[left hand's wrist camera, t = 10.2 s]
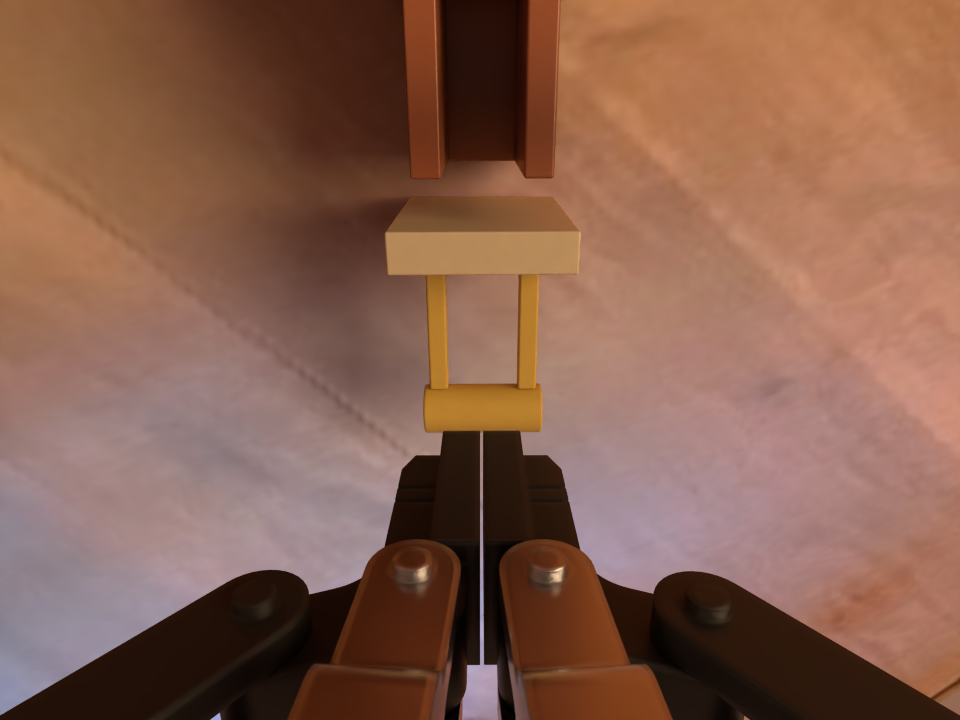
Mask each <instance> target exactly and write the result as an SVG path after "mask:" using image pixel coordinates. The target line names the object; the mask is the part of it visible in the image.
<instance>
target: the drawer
mask: <svg viewBox="0 0 960 720" xmlns="http://www.w3.org/2000/svg"><path fill="white" fill-rule="evenodd" d="M560 7H561V0H403V22H404V44H405V66H406V88H407V110H408V133H409V155H410V177H411V179H440V178H441V176H442V174H443V172H444V170H445V168H446V166H447V164H448V162H449V161H515V162H516V164H517V165H518V167H519V169H520V170H521V172H522V174H523V176H524V177H525V178H553V177H554V164H555V138H556V112H557V86H558V60H559V33H560ZM384 235H385V251H386V267H387V275H426V297H427V323H428V349H429V375H430V384H427V385H426V386H425V389H424V405H423V413H424V428H425V431H426V432H427V433H442V432H443V431H480V432H483V431H520V432H540V431H541V428H542V391H541V386H540V384H536V360H537V328H538V297H539V275H551V274H578V272H579V254H580V236H581V233H580V231H579V229H578V228H577V227H576V226H575V224H574V223H573V222H572V220H571V219H570V218H569V216H568V215H567V214H566V213H565V211H564V210H563V209H562V207H561V206H560V205H559V203H558V202H557V201H556V199H555V198H554V197H411V198H409V200H408V201H407V202H406V204H405V205H404V207H403V208H402V209H401V211H400V212H399V214H398V215H397V216H396V218H395V219H394V221H393V222H392V223H391V225H390V226H389V228H388V229H387V230H386V232H385V234H384ZM446 275H519V291H518V344H517V384H448V383H449V374H448V336H447V297H446Z"/></svg>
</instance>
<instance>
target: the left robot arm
mask: <svg viewBox="0 0 960 720" xmlns="http://www.w3.org/2000/svg"><path fill="white" fill-rule="evenodd" d="M483 581H484V665H497V676H498V706H497V707H498V720H744V716H746V717H747V718H748V719H750V720H960V715H958V714H956V713H955V712H953V711H951V710H950V709H948V708H946V707H944V706H943V705H941V704H939V703H938V702H936V701H934V700H933V699H931V698H929V697H927V696H926V695H924V694H922V693H921V692H919V691H917V690H916V689H914V688H912V687H910V686H909V685H907V684H905V683H904V682H902V681H900V680H898V679H897V678H895V677H893V676H892V675H890V674H888V673H887V672H885V671H883V670H881V669H880V668H878V667H876V666H875V665H873V664H871V663H870V662H868V661H866V660H864V659H863V658H861V657H859V656H858V655H856V654H854V653H852V652H851V651H849V650H847V649H846V648H844V647H842V646H841V645H839V644H837V643H835V642H834V641H832V640H830V639H829V638H827V637H825V636H823V635H822V634H820V633H818V632H817V631H815V630H813V629H812V628H810V627H808V626H806V625H805V624H803V623H801V622H800V621H798V620H796V619H795V618H793V617H791V616H789V615H788V614H786V613H784V612H783V611H781V610H779V609H777V608H776V607H774V606H772V605H771V604H769V603H767V602H766V601H764V600H762V599H760V598H759V597H757V596H755V595H754V594H752V593H750V592H748V591H747V590H745V589H743V588H742V587H740V586H738V585H737V584H735V583H733V582H731V581H729V580H727V579H725V578H722V577H719V576H716V575H713V574H709V573H704V572H695V571H687V572H679V573H674V574H671V575H669V576H667V577H665V578H663V579H662V580H661V581H660V582H659V583H658V584H657V586H656V588H655V590H654V594H652V593H647V592H643V591H639V590H634V589H630V588H626V587H623V586H620V585H617V584H614V583H612V582H610V581H608V580H606V579H604V578H602V577H601V576H599V575H598V574H597V573H596V570H595V568H594V565H593V563H592V561H591V560H590V559H589V557H588V556H587V555H586V554H585V553H583V552H582V551H581V550H580V547H579V542H578V538H577V534H576V530H575V525H574V521H573V517H572V513H571V508H570V504H569V502H568V496H567V491H566V488H565V483H564V479H563V474H562V470H561V468H560V467H559V466H558V465H557V464H556V463H554V462H553V461H552V460H551V459H550V458H549V457H548V456H547V455H523V450H522V443H521V435H520V431H483ZM467 665H480V431H443V437H442V446H441V454H440V455H416V456H415V457H414V458H413V459H412V460H411V461H410V462H409V463H408V464H407V465H406V466H405V467H404V468H403V469H402V472H401V476H400V481H399V485H398V489H397V494H396V498H395V503H394V507H393V512H392V516H391V520H390V525H389V529H388V534H387V538H386V543H385V547H384V548H382V549H381V550H379V551H378V552H377V553H375V554H374V555H373V556H372V557H371V559H370V560H369V561H368V563H367V565H366V568H365V570H364V573H363V576H362V578H361V579H359V580H357V581H355V582H353V583H351V584H348V585H346V586H342V587H339V588H335V589H331V590H327V591H323V592H318V593H314V594H310V595H309V591H308V588H307V585H306V584H305V583H304V581H303V580H302V579H301V578H299V577H298V576H296V575H294V574H292V573H289V572H286V571H280V570H263V571H256V572H252V573H248V574H245V575H242V576H239V577H237V578H235V579H233V580H231V581H229V582H227V583H225V584H223V585H222V586H220V587H218V588H217V589H215V590H213V591H212V592H210V593H208V594H206V595H205V596H203V597H201V598H200V599H198V600H196V601H194V602H193V603H191V604H189V605H188V606H186V607H184V608H183V609H181V610H179V611H177V612H176V613H174V614H172V615H171V616H169V617H167V618H166V619H164V620H162V621H160V622H159V623H157V624H155V625H154V626H152V627H150V628H148V629H147V630H145V631H143V632H142V633H140V634H138V635H137V636H135V637H133V638H131V639H130V640H128V641H126V642H125V643H123V644H121V645H119V646H118V647H116V648H114V649H113V650H111V651H109V652H108V653H106V654H104V655H102V656H101V657H99V658H97V659H96V660H94V661H92V662H91V663H89V664H87V665H85V666H84V667H82V668H80V669H79V670H77V671H75V672H73V673H72V674H70V675H68V676H67V677H65V678H63V679H62V680H60V681H58V682H56V683H55V684H53V685H51V686H50V687H48V688H46V689H45V690H43V691H41V692H39V693H38V694H36V695H34V696H33V697H31V698H29V699H27V700H26V701H24V702H22V703H21V704H19V705H17V706H16V707H14V708H12V709H10V710H9V711H7V712H5V713H4V714H2V715H0V720H210V719H212V718H213V717H214V716H216V715H217V714H218V713H220V716H221V720H462V707H463V706H462V698H463V696H464V694H465V691H466V685H467Z"/></svg>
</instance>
